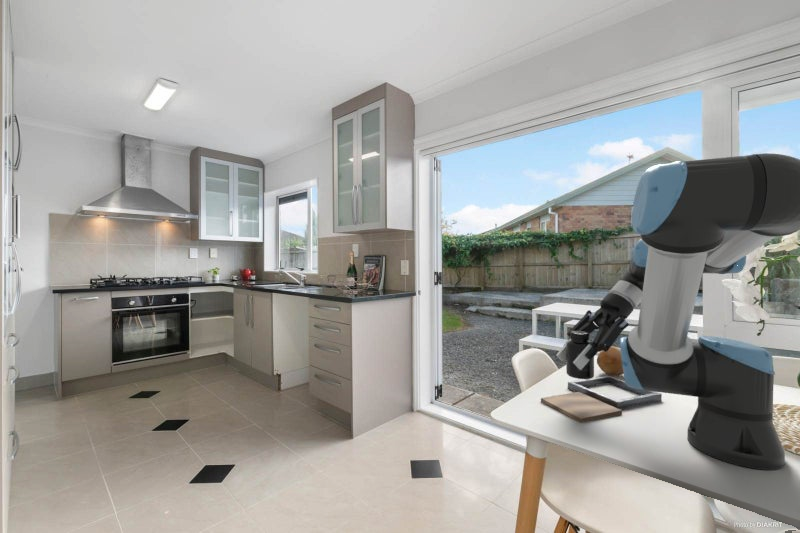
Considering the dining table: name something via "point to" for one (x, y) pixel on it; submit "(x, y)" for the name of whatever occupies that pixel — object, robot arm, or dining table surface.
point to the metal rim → (620, 404)
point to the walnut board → (581, 406)
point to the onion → (611, 361)
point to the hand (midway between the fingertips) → (568, 362)
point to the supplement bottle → (573, 351)
